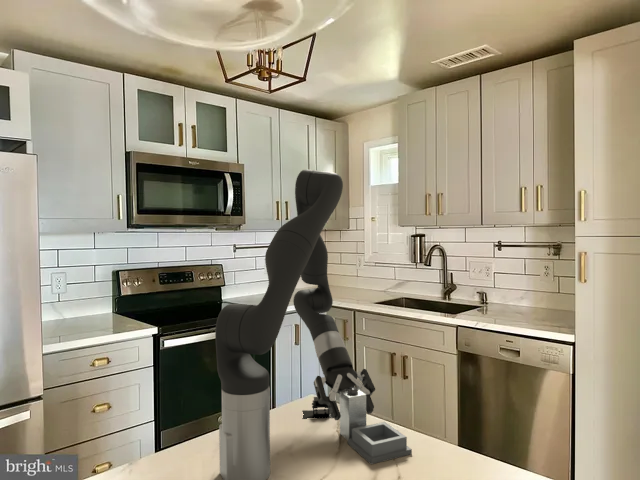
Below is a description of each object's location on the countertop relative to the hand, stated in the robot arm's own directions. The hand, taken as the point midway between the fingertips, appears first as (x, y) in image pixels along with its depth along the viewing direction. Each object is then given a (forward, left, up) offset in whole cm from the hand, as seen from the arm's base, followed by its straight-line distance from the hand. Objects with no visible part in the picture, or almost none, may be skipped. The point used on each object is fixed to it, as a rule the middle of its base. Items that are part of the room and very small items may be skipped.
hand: (354, 415), depth 106 cm
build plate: (-1, +16, -6) cm, 17 cm away
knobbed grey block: (0, +1, -5) cm, 5 cm away
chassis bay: (+2, -7, -5) cm, 9 cm away
